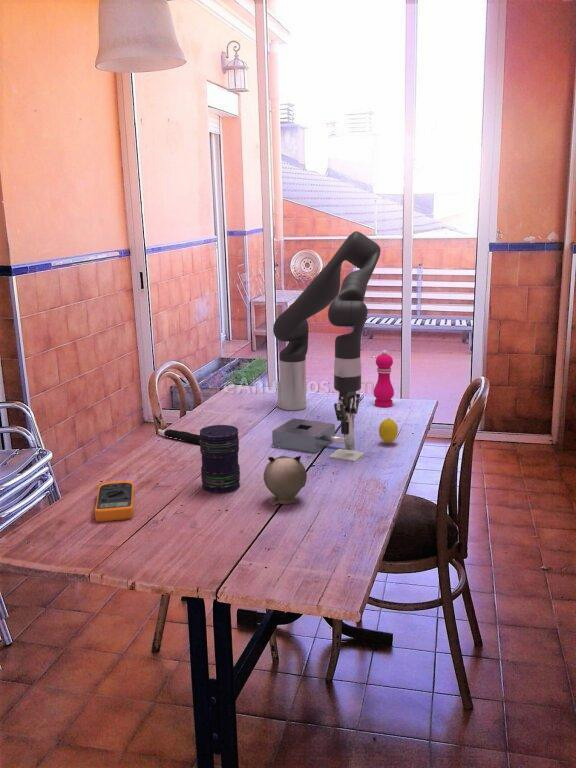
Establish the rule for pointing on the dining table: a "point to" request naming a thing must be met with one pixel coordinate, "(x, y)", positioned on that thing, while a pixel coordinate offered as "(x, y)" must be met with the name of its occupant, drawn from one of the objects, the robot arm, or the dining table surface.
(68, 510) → the dining table surface
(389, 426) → the lemon
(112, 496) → the multimeter
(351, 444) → the chuck key
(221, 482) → the camera lens
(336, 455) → the mat
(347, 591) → the dining table surface
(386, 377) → the pepper mill
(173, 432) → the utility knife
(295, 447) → the block
